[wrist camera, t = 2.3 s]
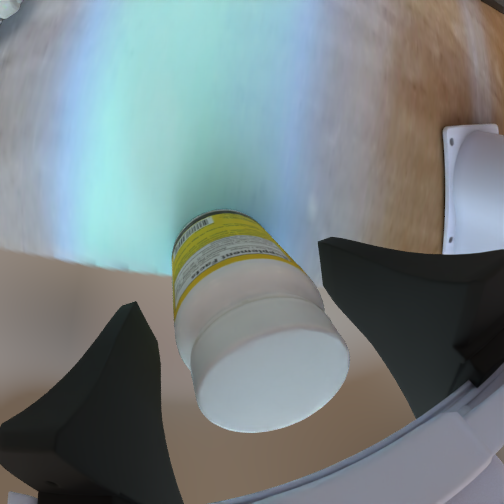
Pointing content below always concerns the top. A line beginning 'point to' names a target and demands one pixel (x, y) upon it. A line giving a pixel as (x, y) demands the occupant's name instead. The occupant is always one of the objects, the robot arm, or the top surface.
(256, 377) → the supplement bottle
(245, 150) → the top surface
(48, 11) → the top surface
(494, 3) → the button base
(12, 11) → the light bulb
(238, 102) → the top surface
